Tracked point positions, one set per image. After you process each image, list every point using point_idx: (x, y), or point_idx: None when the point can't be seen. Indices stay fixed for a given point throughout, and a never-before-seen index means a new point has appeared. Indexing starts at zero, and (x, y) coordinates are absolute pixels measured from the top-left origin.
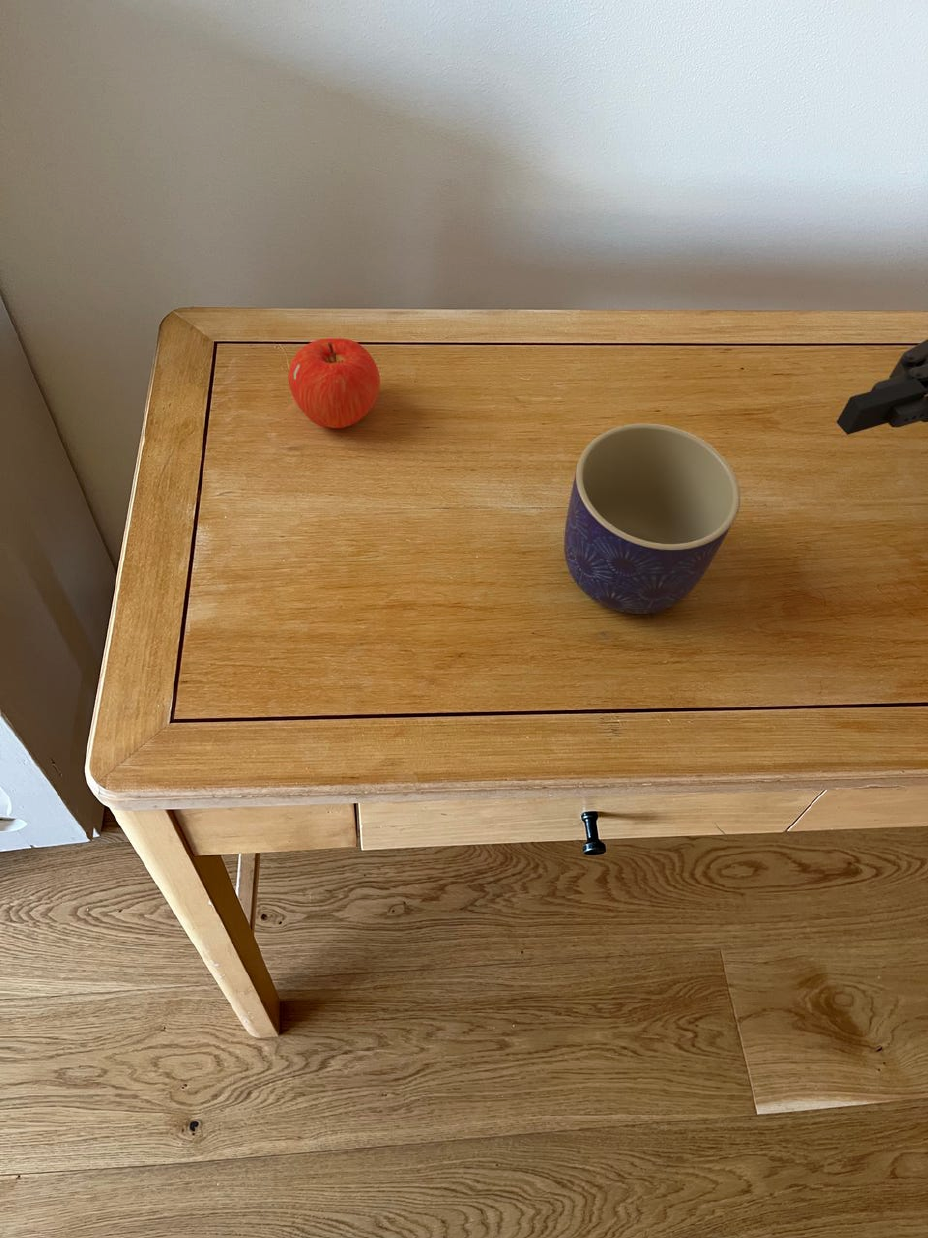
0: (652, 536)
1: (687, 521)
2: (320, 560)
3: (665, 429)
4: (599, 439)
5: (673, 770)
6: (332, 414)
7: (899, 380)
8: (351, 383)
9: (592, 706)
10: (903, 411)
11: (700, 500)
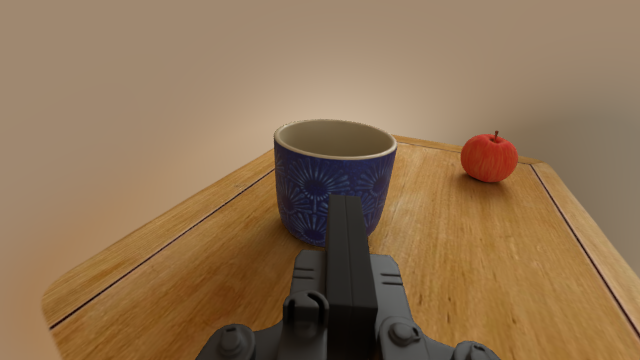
0: None
1: None
2: None
3: (386, 150)
4: (385, 132)
5: (198, 192)
6: (461, 151)
7: (394, 304)
8: (474, 142)
9: (255, 185)
10: (305, 258)
11: None
